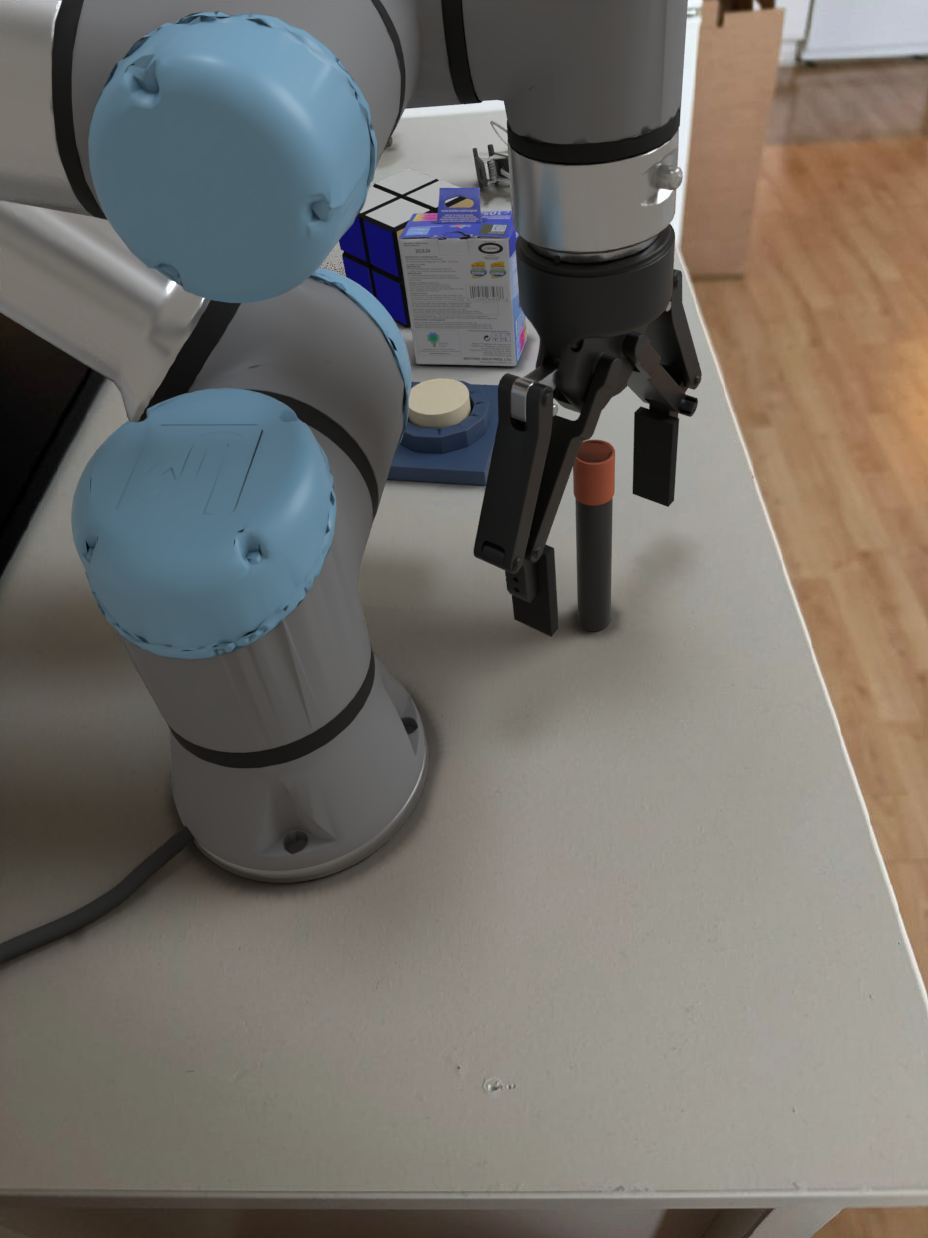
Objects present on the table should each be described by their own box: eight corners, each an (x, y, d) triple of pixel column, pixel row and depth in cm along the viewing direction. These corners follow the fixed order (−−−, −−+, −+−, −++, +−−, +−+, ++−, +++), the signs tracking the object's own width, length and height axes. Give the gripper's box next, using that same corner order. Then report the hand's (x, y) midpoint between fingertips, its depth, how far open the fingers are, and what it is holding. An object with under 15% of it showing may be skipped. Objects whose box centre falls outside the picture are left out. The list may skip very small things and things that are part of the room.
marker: (599, 638, 63) (600, 469, 53) (569, 623, 64) (564, 456, 54) (618, 615, 64) (623, 446, 54) (588, 602, 65) (587, 434, 55)
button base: (486, 485, 75) (482, 455, 73) (366, 478, 77) (359, 448, 75) (514, 398, 83) (512, 368, 81) (404, 394, 85) (399, 364, 83)
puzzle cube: (348, 298, 99) (328, 201, 91) (422, 260, 103) (409, 165, 95) (409, 329, 93) (393, 229, 86) (484, 289, 97) (475, 190, 90)
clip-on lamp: (482, 174, 124) (476, 201, 109) (473, 121, 120) (466, 141, 106) (572, 156, 122) (579, 181, 107) (566, 101, 119) (572, 119, 104)
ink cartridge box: (529, 336, 90) (520, 180, 79) (520, 368, 86) (509, 209, 76) (428, 334, 92) (406, 182, 81) (415, 366, 88) (390, 211, 78)
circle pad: (462, 432, 76) (460, 415, 75) (400, 428, 77) (397, 412, 76) (476, 395, 79) (475, 379, 78) (417, 392, 81) (414, 376, 80)
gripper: (501, 379, 37) (533, 715, 52) (787, 139, 49) (744, 468, 64) (359, 332, 40) (428, 659, 56) (658, 120, 53) (647, 436, 68)
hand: (597, 557), depth 60 cm, fingers open, 13 cm apart
